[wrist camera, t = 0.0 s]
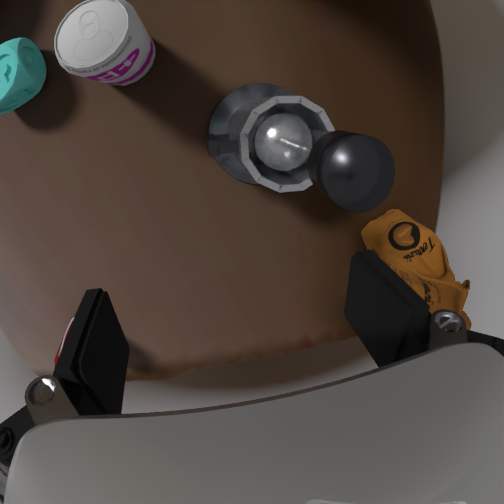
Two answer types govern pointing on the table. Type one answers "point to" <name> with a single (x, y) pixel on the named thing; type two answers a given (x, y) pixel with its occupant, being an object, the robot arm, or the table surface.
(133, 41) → the supplement can
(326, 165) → the plunger
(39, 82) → the decorative dice
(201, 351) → the table surface
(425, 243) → the coffee package
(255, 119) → the press pot
